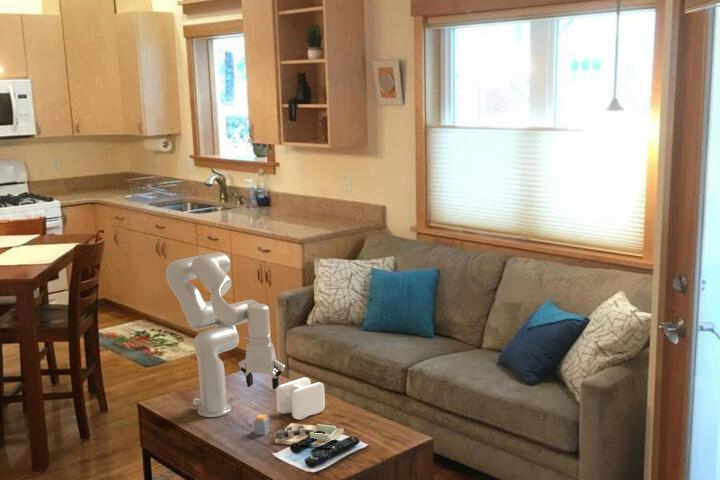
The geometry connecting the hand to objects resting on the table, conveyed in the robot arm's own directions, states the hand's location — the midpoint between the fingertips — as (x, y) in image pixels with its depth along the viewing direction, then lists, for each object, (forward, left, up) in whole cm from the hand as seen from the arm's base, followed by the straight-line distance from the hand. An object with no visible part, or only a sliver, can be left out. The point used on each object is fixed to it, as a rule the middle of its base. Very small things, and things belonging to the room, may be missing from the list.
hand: (262, 386), depth 275 cm
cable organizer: (+6, +18, -17) cm, 26 cm away
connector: (-1, -1, -17) cm, 17 cm away
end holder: (+22, -1, -15) cm, 27 cm away
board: (+17, -1, -17) cm, 24 cm away
